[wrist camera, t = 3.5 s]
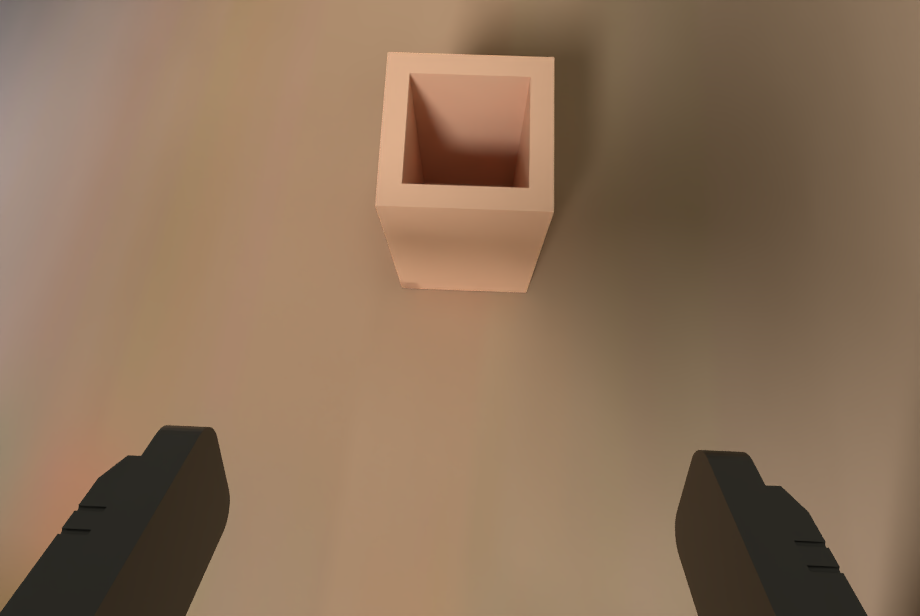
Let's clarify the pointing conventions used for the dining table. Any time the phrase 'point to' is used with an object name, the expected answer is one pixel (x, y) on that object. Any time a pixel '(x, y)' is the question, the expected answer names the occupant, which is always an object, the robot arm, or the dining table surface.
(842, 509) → the dining table surface
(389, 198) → the tub
